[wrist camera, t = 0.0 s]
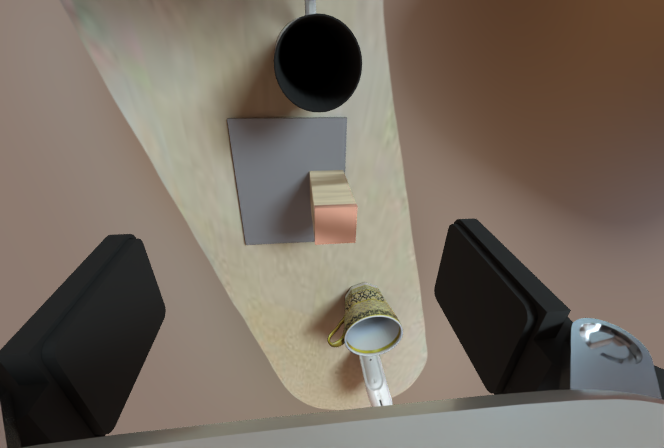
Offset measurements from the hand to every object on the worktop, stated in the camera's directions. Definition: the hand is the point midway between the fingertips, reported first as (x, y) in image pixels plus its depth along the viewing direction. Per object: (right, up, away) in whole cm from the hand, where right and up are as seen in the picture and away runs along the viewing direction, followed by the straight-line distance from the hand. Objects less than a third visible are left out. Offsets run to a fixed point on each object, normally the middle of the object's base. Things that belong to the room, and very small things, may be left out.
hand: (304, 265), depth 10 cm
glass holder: (-2, +25, +28) cm, 38 cm away
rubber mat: (-5, +7, +38) cm, 39 cm away
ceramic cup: (+5, -13, +51) cm, 53 cm away
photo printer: (+9, -27, +60) cm, 67 cm away
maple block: (0, +7, +38) cm, 39 cm away
